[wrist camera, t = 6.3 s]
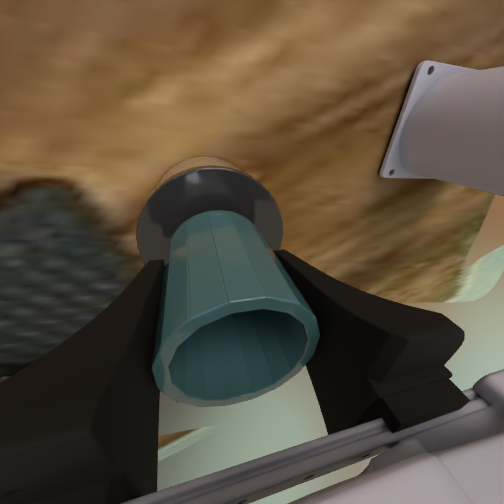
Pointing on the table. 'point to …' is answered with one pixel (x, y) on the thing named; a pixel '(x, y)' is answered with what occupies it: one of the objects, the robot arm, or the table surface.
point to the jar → (204, 203)
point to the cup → (227, 315)
